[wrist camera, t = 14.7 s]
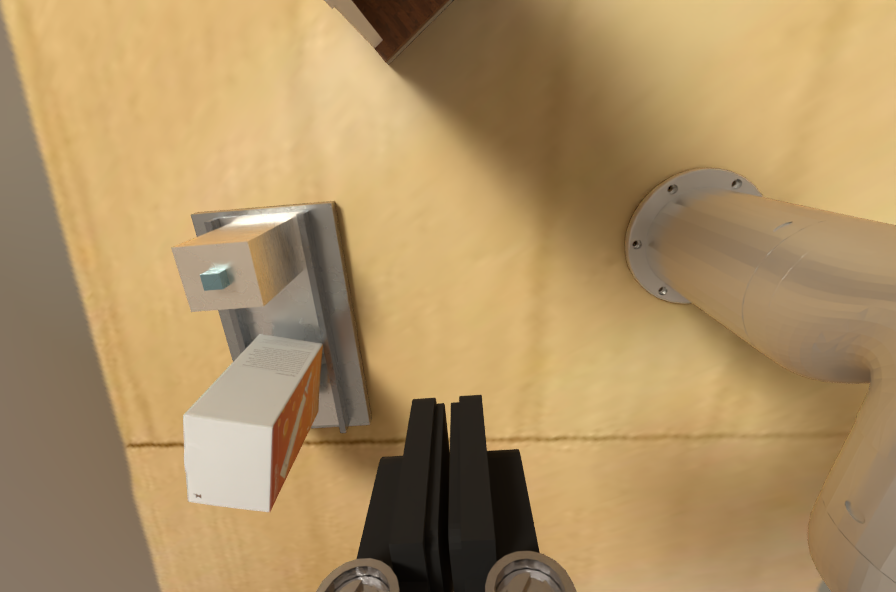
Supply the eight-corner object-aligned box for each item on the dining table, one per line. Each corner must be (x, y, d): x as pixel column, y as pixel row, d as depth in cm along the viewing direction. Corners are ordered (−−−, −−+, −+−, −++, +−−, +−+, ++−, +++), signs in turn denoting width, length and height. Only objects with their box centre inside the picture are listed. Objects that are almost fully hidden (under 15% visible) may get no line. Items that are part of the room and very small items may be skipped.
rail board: (334, 201, 40) (290, 226, 30) (371, 417, 49) (348, 499, 38) (197, 212, 41) (105, 241, 30) (257, 424, 49) (202, 506, 39)
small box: (320, 411, 45) (270, 515, 33) (257, 402, 45) (184, 504, 32) (325, 341, 42) (273, 427, 30) (258, 331, 42) (179, 414, 30)
